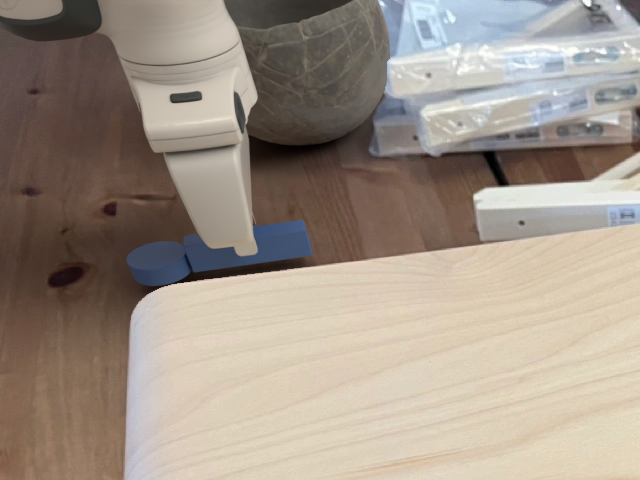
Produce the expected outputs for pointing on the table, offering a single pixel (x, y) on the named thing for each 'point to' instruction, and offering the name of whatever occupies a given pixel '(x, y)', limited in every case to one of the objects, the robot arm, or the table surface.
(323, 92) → the bowl
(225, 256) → the blue block
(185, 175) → the robot arm
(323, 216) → the table surface
